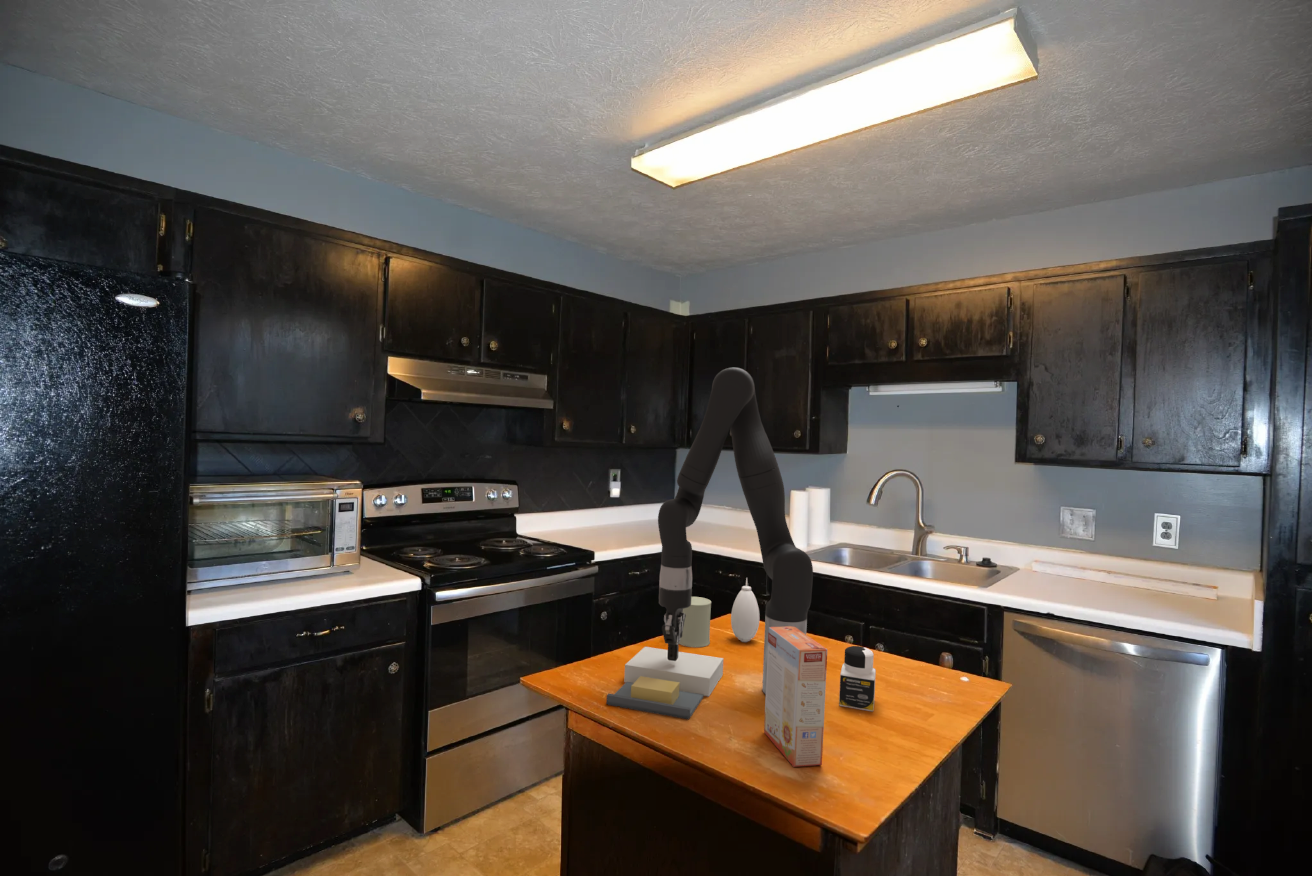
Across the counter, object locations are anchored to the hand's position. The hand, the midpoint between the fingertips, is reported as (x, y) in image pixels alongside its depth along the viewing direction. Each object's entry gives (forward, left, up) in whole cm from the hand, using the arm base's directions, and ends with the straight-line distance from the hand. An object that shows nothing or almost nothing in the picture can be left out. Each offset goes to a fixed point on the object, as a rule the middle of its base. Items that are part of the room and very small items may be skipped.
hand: (672, 659), depth 150 cm
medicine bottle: (-41, -6, -6) cm, 42 cm away
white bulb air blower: (-10, -38, -6) cm, 40 cm away
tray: (0, +11, -5) cm, 12 cm away
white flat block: (0, -3, -5) cm, 6 cm away
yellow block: (0, +11, -3) cm, 12 cm away
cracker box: (-30, +21, -6) cm, 37 cm away
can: (+3, -31, -6) cm, 32 cm away
